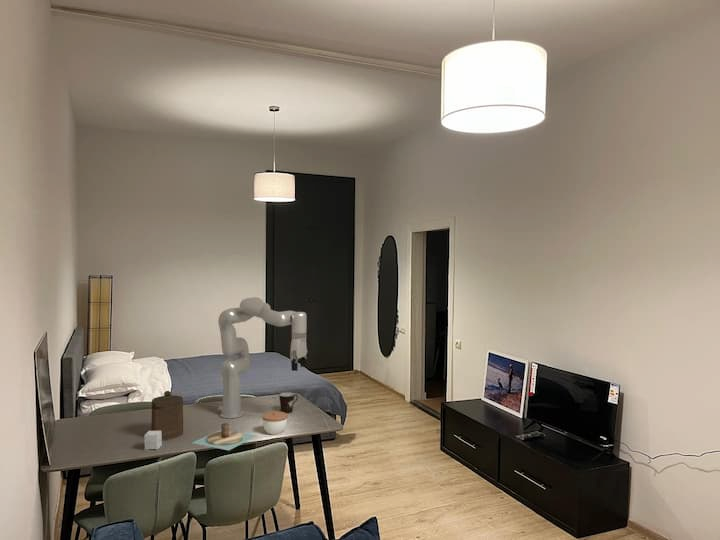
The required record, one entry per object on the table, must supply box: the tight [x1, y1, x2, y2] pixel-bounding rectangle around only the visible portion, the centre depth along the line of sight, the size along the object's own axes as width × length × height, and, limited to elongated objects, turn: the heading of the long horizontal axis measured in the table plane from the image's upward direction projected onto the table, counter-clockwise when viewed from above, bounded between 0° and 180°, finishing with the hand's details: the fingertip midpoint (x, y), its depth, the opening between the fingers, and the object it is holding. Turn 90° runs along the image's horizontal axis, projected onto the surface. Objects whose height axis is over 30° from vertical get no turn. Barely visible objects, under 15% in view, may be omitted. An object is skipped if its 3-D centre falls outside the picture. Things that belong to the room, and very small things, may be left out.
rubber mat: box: [191, 429, 258, 451], centre depth 258 cm, size 22×22×1 cm
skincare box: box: [143, 430, 163, 451], centre depth 247 cm, size 6×6×7 cm
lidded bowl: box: [261, 410, 288, 436], centre depth 269 cm, size 13×13×11 cm
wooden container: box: [150, 390, 184, 441], centre depth 264 cm, size 15×15×22 cm
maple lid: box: [207, 422, 243, 445], centre depth 258 cm, size 17×17×7 cm
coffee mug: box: [278, 391, 298, 414], centre depth 305 cm, size 12×9×10 cm
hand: (299, 368), depth 277 cm, fingers open, 9 cm apart
